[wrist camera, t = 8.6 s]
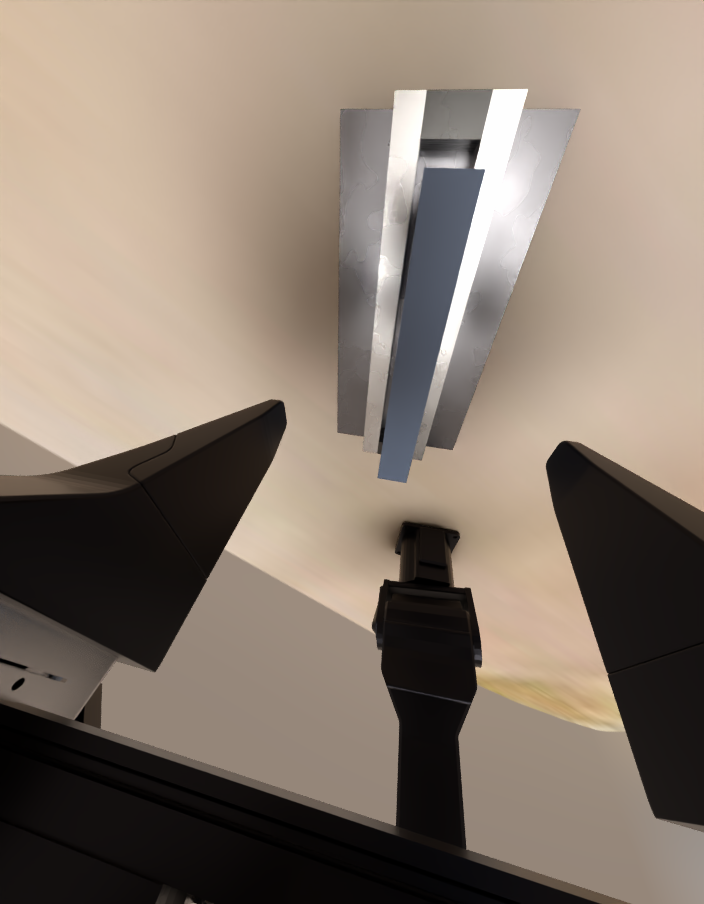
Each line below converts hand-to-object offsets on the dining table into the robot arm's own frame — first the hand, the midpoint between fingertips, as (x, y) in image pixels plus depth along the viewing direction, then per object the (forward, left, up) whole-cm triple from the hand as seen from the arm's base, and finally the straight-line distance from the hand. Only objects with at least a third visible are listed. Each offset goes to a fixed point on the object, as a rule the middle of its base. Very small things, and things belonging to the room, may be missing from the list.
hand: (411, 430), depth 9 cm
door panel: (0, 0, -11) cm, 11 cm away
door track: (0, 0, -12) cm, 12 cm away
